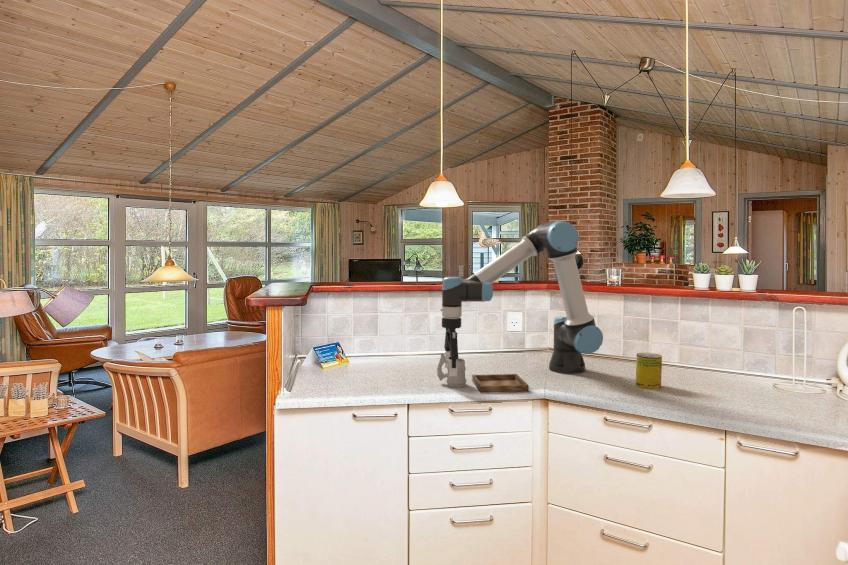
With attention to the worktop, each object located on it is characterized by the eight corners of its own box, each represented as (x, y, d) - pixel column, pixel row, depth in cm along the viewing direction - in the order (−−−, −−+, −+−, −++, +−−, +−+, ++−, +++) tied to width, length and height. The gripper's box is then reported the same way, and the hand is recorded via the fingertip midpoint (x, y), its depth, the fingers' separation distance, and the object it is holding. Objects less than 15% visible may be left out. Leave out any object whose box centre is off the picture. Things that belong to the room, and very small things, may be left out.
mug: (462, 388, 209) (462, 357, 208) (433, 385, 213) (433, 354, 212) (468, 383, 216) (469, 353, 215) (440, 380, 220) (440, 350, 219)
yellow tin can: (661, 390, 207) (662, 358, 206) (635, 387, 210) (636, 356, 209) (660, 384, 215) (661, 353, 214) (635, 381, 218) (636, 351, 217)
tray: (516, 379, 222) (516, 373, 221) (528, 391, 205) (528, 385, 205) (472, 380, 220) (472, 374, 220) (480, 392, 203) (480, 386, 203)
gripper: (438, 312, 224) (437, 364, 226) (446, 322, 200) (445, 380, 201) (456, 312, 225) (455, 364, 227) (466, 322, 200) (465, 379, 202)
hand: (450, 371), depth 214 cm, fingers open, 13 cm apart
